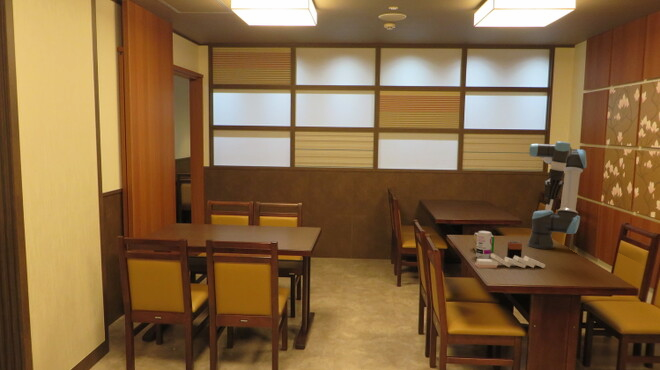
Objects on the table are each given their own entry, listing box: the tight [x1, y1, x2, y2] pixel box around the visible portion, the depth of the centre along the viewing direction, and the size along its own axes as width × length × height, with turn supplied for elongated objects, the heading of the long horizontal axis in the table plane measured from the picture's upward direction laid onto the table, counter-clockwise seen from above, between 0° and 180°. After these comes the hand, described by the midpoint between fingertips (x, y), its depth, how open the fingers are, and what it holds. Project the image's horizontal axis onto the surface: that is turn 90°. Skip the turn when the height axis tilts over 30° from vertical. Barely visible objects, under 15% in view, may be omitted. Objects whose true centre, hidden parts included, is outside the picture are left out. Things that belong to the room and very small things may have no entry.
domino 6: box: [522, 255, 546, 269], centre depth 260 cm, size 2×5×10 cm
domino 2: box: [474, 262, 498, 269], centre depth 259 cm, size 2×5×10 cm
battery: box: [506, 240, 523, 259], centre depth 278 cm, size 4×7×10 cm, turn 89°
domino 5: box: [513, 255, 536, 269], centre depth 260 cm, size 2×5×10 cm
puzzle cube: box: [472, 232, 495, 254], centre depth 294 cm, size 10×10×10 cm
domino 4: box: [503, 256, 527, 269], centre depth 260 cm, size 2×5×10 cm
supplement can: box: [475, 230, 493, 259], centre depth 277 cm, size 8×8×15 cm
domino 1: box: [476, 258, 499, 266], centre depth 259 cm, size 2×5×10 cm
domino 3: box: [490, 252, 512, 268], centre depth 260 cm, size 2×5×10 cm
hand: (547, 210), depth 273 cm, fingers closed
